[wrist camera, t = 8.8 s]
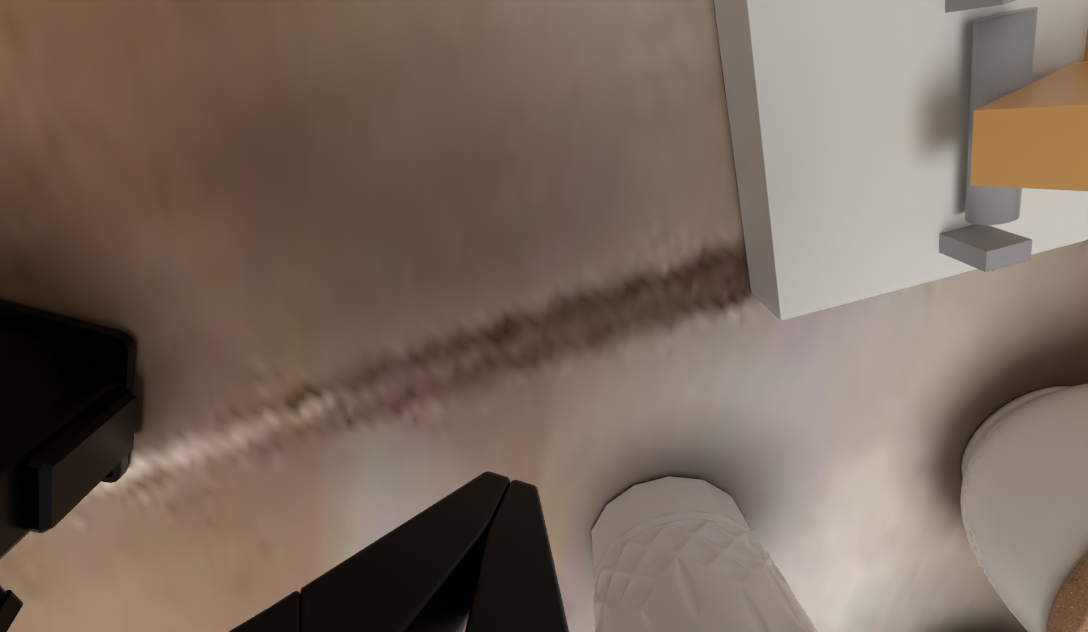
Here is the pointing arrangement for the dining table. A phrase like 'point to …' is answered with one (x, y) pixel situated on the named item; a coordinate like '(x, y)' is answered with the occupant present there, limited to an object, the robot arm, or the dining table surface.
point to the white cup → (686, 565)
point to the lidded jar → (1032, 506)
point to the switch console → (873, 144)
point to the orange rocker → (1021, 121)
